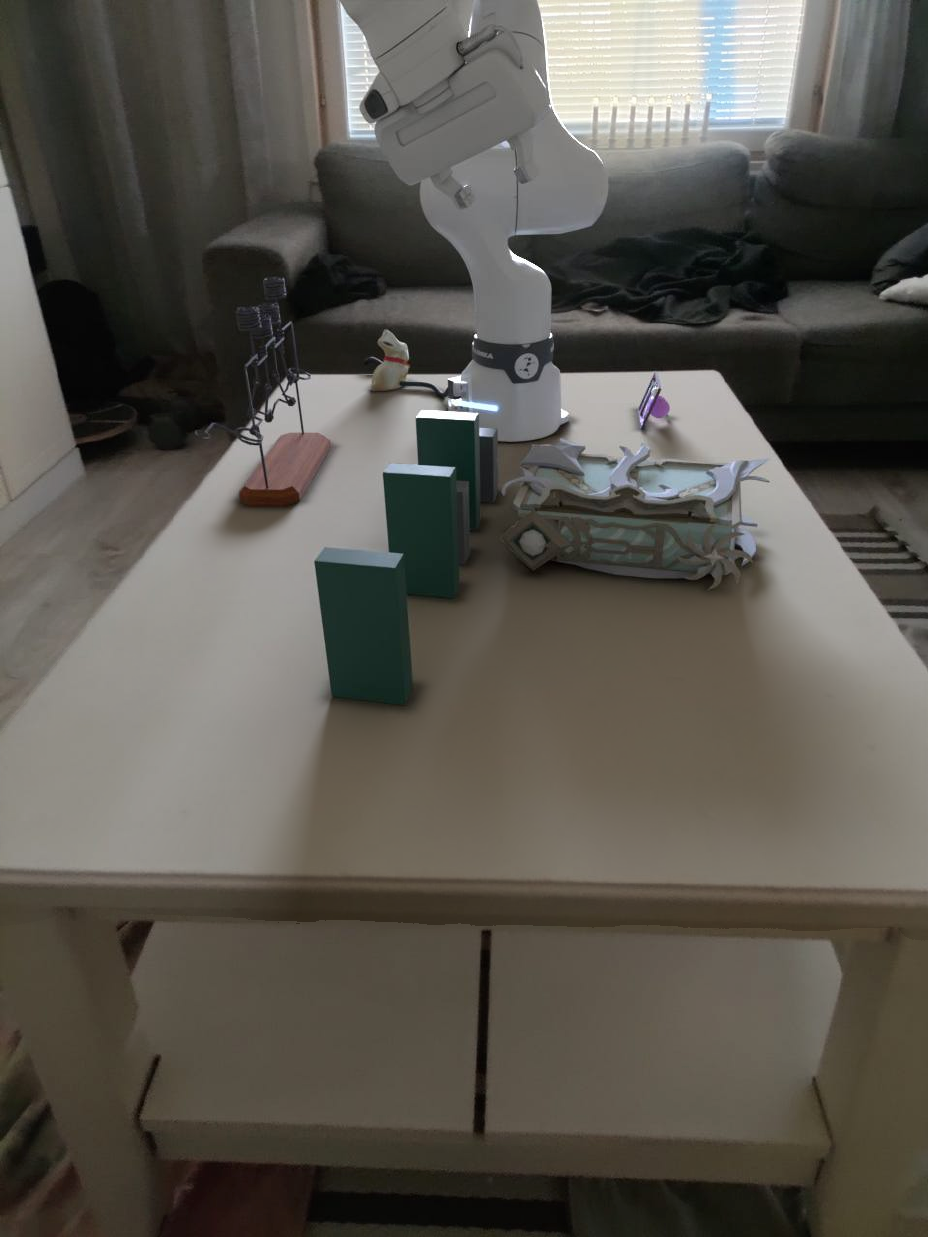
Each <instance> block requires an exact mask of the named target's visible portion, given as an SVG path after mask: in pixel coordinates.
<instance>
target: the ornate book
mask: <svg viewBox="0 0 928 1237" xmlns="http://www.w3.org/2000/svg"><path fill="white" fill-rule="evenodd" d="M619 449H620V450H621V452H622V453H623V454H624V456H623V458H620V457H619V458H618V457H615V456H613V455H609V454H602V453H601V454H599V453H598V454H597V453H583V452H584V451H585V450H586V446H585V445H583V444H579V443H577V442H573V441H571V440H567V439H564V438H562V437H559V438H558V443H557V444H549V443H546V444H536V443H535V444H534V443H533V444H532V443H531V449H530V450H529V452H528V453H527V454H526V456H525V457H524V458H523V460H522V461H521V463H520V466H521V467H519V468H520V473H521V477H517V478H514V479H512V480H509V481H507V482H506V483H505V484H503V486H502V488H501V491H500V492H501V494H502V496H503V497H505V495H506V493H507V491H508V488H509V486H511V485H513V484H515V483H520V482H522V484H521V486H520V488H519V489H518V492H517V494H516V496H515V498H514V500H513V503H512V508H514V510H516V511H517V518H516V524H514V525H511V526H510V527H509V528H508V529H507V530H506V531H505V532H504V533H503V534H502V535H501V536H500V537H499V539H500V540H501V541H502V542H503V543H504V544H505V545H506V547H507V548H508V549H509V550H510V551H511V552H513V553H514V554H515V555H516V558H518V559H519V560H520V561H521V562H522V563H523V564H524V565H525V566H527V568H529V569H530V570H531V571H532V572H533V571H535V570H537V569H539V568H540V567H542V565H544V564H546V563H547V562H548V561H552V562H553V561H554V562H558V563H563V564H568V565H569V564H570V565H574V566H578V567H580V568H583V569H588V570H593V571H597V572H601V573H606V574H611V575H616V576H625V577H626V576H627V577H634V578H636V577H637V578H646V579H686V580H690V581H698V580H699V579H702V578H703V577H705V576H707V575H711V576H712V577H713V578H714V581H713V583H712V585H711V586H710V587H708V589H707V591H710V590H712V589H714V588H717V587H718V586H719V585H720V584H721V582H722V578H723V576H726V575H728V574H730V573H732V574H733V576H734V577H735V585H736V586H737V585H738V583H739V581H740V579H741V571H740V570H739V568H738V567H737V565H736V559H738V558H743V560H742V562H741V567H743V566H744V565H746V564H747V563H749V562H751V563H752V564H754V561H753V558H754V556H756V552H757V546H756V545H757V544H756V540H755V539H754V537H753V535H752V534H751V533H750V532H749V531H747V530H745V529H743V528H741V527H739V526H745V527H753V528H754V527H755V528H757V527H758V523H757V522H754V521H752V520H750V519H749V518H747V517H744V516H743V515H742V491H741V490H742V489H741V483H742V482H744V481H749V480H753V481H758V482H764V483H770V480H769V479H766V478H765V477H761V476H758V475H751V473H753V472H754V471H755V470H757V469H758V468H760V467H762V465H764V464H765V463H767V462H768V461H770V460H771V458H763V459H753V460H734V461H732V462H724V461H723V462H722V461H720V462H719V461H718V462H717V461H697V460H686V459H678V458H677V459H676V458H660V459H657V460H649V458H650V457H651V453H652V450H651V449H650V447H649V446H647V445H646V444H643V443H641V442H640V448H639V450H638V451H637V452H636V453H635V455H634V454H633V452H632V450H631V449H630V448H628V447H625V446H622V445H619ZM523 466H524V467H525V466H527V467H528V466H529V468H528V470H527V469H525V468H524V467H523ZM735 546H737V547H740V548H741V549H742V550H739V549H735Z"/></svg>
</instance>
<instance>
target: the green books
mask: <svg viewBox="0 0 928 1237" xmlns="http://www.w3.org/2000/svg"><path fill="white" fill-rule="evenodd" d="M382 481H383V482H382V483H383V493H384V507H385V508H384V509H385V520H386V534H387V545H388V552H387V551H375V550H365V549H364V550H363V549H355V548H354V549H353V548H343V547H342V548H341V547H330V546H325V547H324V548H323V549H322V551H321V552H320V553H319V554H318V555H317V557H316V558H315V559H314V562H313V563H314V570H315V578H316V586H317V593H318V601H319V609H320V610H319V611H320V615H321V624H322V632H323V640H324V647H325V657H326V663H327V669H328V671H327V672H328V678H329V686H330V695H331V697H333V698H339V699H349V700H355V701H365V702H373V703H381V704H390V705H398V706H406V705H407V703H408V701H409V698H410V697H411V694H412V692H413V689H414V682H413V667H412V654H411V652H412V651H411V638H410V637H411V636H410V625H409V624H410V622H409V608H408V595H411V596H423V597H433V598H443V599H444V598H445V599H453V600H454V599H455V598H456V596H457V593H458V592H459V590H460V587H461V586H460V585H461V584H460V580H461V579H460V564H459V548H458V516H457V483H456V467H443V466H428V465H418V464H411V463H398V462H397V463H395V462H389V464H388V465H387V466H386V468H385V469H384V470H383V472H382Z"/></svg>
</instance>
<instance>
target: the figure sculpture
mask: <svg viewBox="0 0 928 1237" xmlns="http://www.w3.org/2000/svg"><path fill="white" fill-rule="evenodd" d="M262 286H263V292H264V293H263V294H264V299H265V300H267V301H270V302H262V303H259V304H258V305H257V306H256V305H249V306H246V305H245V306H239V307H237V308H236V309H235V310H236V311H234V313H235V318H236V326H237V327H238V328H237V330H238V331H240V332H248V333H249V340H250V347H251V353H252V354H251V355H249V357H250V359H249V360H248V361H247V362H246V363H245V364H244V369H243V370H244V377H245V384H246V390H247V395H248V403H249V404H248V408H247V413H246V416H247V417H248V418H249V419H251V422H252V423H251V424H252V425H251V426H250V428H248V427H237V428H235V429H234V430H233V429H231V428H228V427H226V426H224V425H222V424H220V423H218V422H211V424H209V426H208V427H207V428H206V429H205V430H199V429H198V430H197V429H196V430H194V436H195V438H198V439H200V440H205V441H208V442H209V441H210V440H211V437H212V435H210V434H209V433H208V432H209V431H210V430H211V429H212V428H213V427H217V428H219V429H221V430H224V431H226V432H228V433H230V434H232V435H234V437H235V438H237V440H239V441H240V442H241V443H244V444H246V445H249V446H258V448H259V453H260V459H261V461H260V462H259V463H258V465H257V467H256V468H255V469H254V471H253V472H252V473H251V475H250V476H249V478H248V479H247V480H246V482H245V483H244V484H243V486H242V487H241V489H240V490H239V491H238V495H239V496H238V497H239V501H240V502H241V503H243V504H245V505H246V506H248V507H287V506H290V505H293V504H296V503H299V502H301V500H302V498H303V496H304V495H305V493H306V492H307V489H308V488H309V486H310V484H311V482H312V481H313V479H314V477H315V476H316V474H317V472H318V471H319V468H320V467H321V465H322V463H323V462H324V460H325V458H326V456H327V455H328V453H329V451H330V449H331V440H330V438H328V437H326V436H325V435H324V434H321V433H319V432H305V430H304V423H303V414H302V407H301V400H300V392H299V385H298V382H299V381H300V380H301V381H308V380H311V379H312V375H311V373H309V372H307V370H305V369H302V368H301V367H299V363H298V355H297V347H296V339H295V331H294V325H293V323H294V322H293V321H292V320H290V321H289V322H288V323H287V324H286V325H284V326H283V327H282V320H281V316H280V306H279V301H278V300H281V299H286V298H287V295H288V294H287V290H286V289H287V288H286V281H285V278H284V277H281V276H269V277H265V278H264V279H263V281H262ZM273 301H275V302H273ZM276 325H278V328H277V329H276V332H277V334H276V335H277V336H274V331H273V326H276ZM288 327H290V333H291V342H292V351H293V359H294V366H295V367H294V366H291V367H289V368H288V367H287V364H286V359H285V356H284V355H285V354H286V353H285V350H286V347H285V345H284V340H285V335H284V334H285V332H284V331H285V330H286V329H287V328H288ZM265 338H267V339H268V341H267V343H265ZM254 339H258V340H259V339H260V340H261V345H260V346H259V347H258V349H260V350H259V352H260V357H261V359H260V360H259V357H258V356H259V354H258V353H256V347H255V342H254ZM277 340H279V341H277ZM276 341H277V343H276ZM268 347H269V349H271V350H272V355H273V362H274V369H273V371H272V374H271V375H272V377H273V378H274V379H275V381H276V382H277V384H278V387H279V389H280V391H281V396H283V397H284V399H282V398H277V399H276V400H275V401H274V402H273V406H272V409H271V408H269V395H270V392H271V391H272V385H271V382H270V375H269V366H268V357H269V355H268V351H267V350H268ZM276 349H277V350H278V352H280V356H281V360H282V364H283V368H284V369H283V370H284V372H285V377H286V380H287V383H286V387H285V389H284V388H283V386H282V384H281V382H280V380H281V378H280V373H279V372H278V364H277V355H276ZM258 360H259V361H258ZM262 363H264V368H265V374H266V381H267V383H265V384H264V386H263V389H264V390H265V399H264V400H265V401H264V411H261V410H258V409H256V408H255V407H253V403H254V399H255V397H256V396H255V395H256V392H257V390H258V387H259V386H261V385H262V384H261V379H260V374H259V368H258V367H259V366H260V365H261V364H262ZM249 365H251V367H253V368H254V375H255V377H253V381H252V385H253V388H252V392H251V389H250V383H249V376H248V367H249ZM292 370H293V371H295V373H294V372H292ZM300 372H302V373H304V374H305V375H306V376H307V377H303V376H300ZM292 385H295V392H296V398H297V400H296V398H295V397H293V396H290V395H288V394H286V393H287V392H288V390H289V387H291V386H292ZM279 402H282V403H284V404H287V406H288V407H294V405H296V403H297V406H298V414H299V421H300V430H301V432H288V433H284V434H281V435H280V436H279V437H278V438H277V439H276V440H275V442H274V443H273V444H272V446H271V448H270V449H269V450H268V451H267V452H266V454H265V456H264V448H263V440H264V435H262V433H261V431H260V430H261V429H260V425H261V424H262V423H263V421H264V422H265V423H269V424H270V423H272V422H273V420H274V418H275V417H274V413H275V409H276V407H277V405H278V403H279ZM268 408H269V409H268ZM257 414H261V415H263V416H264V419H262V418H260V417H258V416H256V415H257ZM256 421H258V422H257V424H256ZM239 431H244V432H245V431H248V432H249V434H250V435H251V436H254V437H256V438H257V439H255V438H252V437H248V436H246V435H244V434H241V433H239ZM199 434H204V435H205V436H207V437H203V436H201V435H199Z"/></svg>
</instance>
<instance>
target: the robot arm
mask: <svg viewBox="0 0 928 1237" xmlns="http://www.w3.org/2000/svg"><path fill="white" fill-rule="evenodd" d="M339 2H340V4H341V6H342V7H343V9H344V11H345V13H346V14H347V16H348V17H349V18H350V19H351V20H352V21H353V22H354V23H355V25H357V26H358V29H360V31H361V33H362V34H363V37H364V38H365V41H366V43H367V47H368V50H369V54H370V57H371V59H372V60H373V62H374V64H375V66H376V67H377V69H378V73H377V74H376V76H375V77H374V80H373V81H372V83H371V85H370V87H369V88H368V90H367V92H366V93H365V95H364V96H363V98H362V100H361V101H360V103H359V106H358V108H359V112H360V114H361V116H362V117H363V119H364V121H365V122H366V123H368V124H374V127H373V128H374V129H373V130H374V136H375V139H376V141H377V144H378V146H379V148H380V149H381V151H382V153H383V155H384V157H385V158H386V160H387V162H388V164H389V165H390V167H391V168H392V170H393V171H394V173H395V175H396V176H397V178H398V179H399V180H400V181H402V182H403V183H404V184H406V185H408V186H414V185H416V184H419V183H420V184H419V201H420V206H421V210H422V213H423V215H424V217H425V218H426V220H427V222H428V223H429V225H430V226H431V227H432V228H433V229H434V230H435V231H436V232H437V233H439V235H441V236H442V237H444V238H445V239H446V240H447V241H448V242H449V243H450V244H451V245H452V247H453V248H454V249H456V251H457V252H458V253H459V255H460V256H461V259H462V260H463V262H464V264H465V266H466V268H467V271H468V273H469V276H470V279H471V283H472V284H471V285H472V289H473V298H474V310H475V334H474V335H473V342H472V344H471V358H472V360H471V361H470V362H469V363H468V364H467V366H466V367H465V368H464V369H463V370H462V372H461V373H460V375H459V376H454V377H451V378H447V387H446V388H445V391H442V390H441V388H439V387H438V386H436V385H435V384H433V383H431V382H427V381H416V380H412V381H411V380H408V381H400V382H399V385H400V386H403V387H421V388H428V389H431V390H432V391H433V392H434V393H435V394H437V395H438V396H439V397H440V398H448V400H447V406H446V407H447V410H448V412H467V413H479V428H491V429H498V442H511V443H512V442H528V441H533V440H539V439H543V438H546V437H548V436H551V435H553V434H554V433H556V432H557V431H558V430H559V428H560V426H562V425H564V424H565V423H568V422H569V421H570V413H569V412H567V411H566V410H563V409H562V408H563V407H562V406H563V405H562V379H561V378H562V377H561V370H560V369H559V368H558V367H557V366H556V365H554V364H553V359H554V349H555V344H554V335H553V333H551V328H552V327H551V326H552V325H551V324H552V320H551V319H552V291H553V290H552V283H551V281H550V278H549V276H548V275H547V273H546V272H545V271H544V270H543V269H542V268H540V267H539V266H537V265H535V264H534V263H532V262H530V261H528V260H526V259H524V258H522V257H520V256H517V254H514V253H513V252H512V250H511V249H510V247H509V238H511V237H514V236H521V235H522V236H527V235H528V236H530V235H532V236H533V235H561V234H566V233H570V232H574V231H578V230H581V229H586V228H590V227H592V226H593V225H594V224H595V223H596V222H597V221H598V219H599V218H600V216H602V213H603V212H604V209H605V207H606V204H607V201H608V197H609V188H610V185H609V184H610V183H609V176H608V173H607V170H606V167H605V165H604V163H603V161H602V159H601V158H600V156H599V155H598V154H597V152H595V150H592V149H590V148H589V147H587V146H586V145H584V144H583V143H581V142H580V141H578V140H577V139H576V138H575V137H574V136H573V135H572V134H571V133H570V132H569V131H568V129H567V128H566V127H565V126H564V124H563V123H562V121H561V120H560V118H559V116H558V114H557V113H556V110H555V108H554V105H553V101H552V94H551V88H550V79H549V78H550V77H549V68H548V65H549V64H548V51H547V41H546V33H545V29H544V28H545V27H544V21H543V18H542V17H543V16H542V13H541V9H540V5H539V1H538V0H474V1H473V4H472V10H471V14H470V22H469V31H468V35H467V33H466V31H465V29H464V27H463V25H462V23H461V21H460V20H459V17H458V15H457V14H456V11H455V9H454V7H453V6H452V3H451V2H450V0H339ZM498 145H499V146H500V147H499V146H498ZM496 146H497V147H496ZM370 363H374V364H376V365H377V366H379V365H380V364H382V363H383V361H381V360H380V359H379V358H376V357H374V356H370V357H367V358H365V360H364V361H363V365H364V366H368V365H369V364H370Z"/></svg>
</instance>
